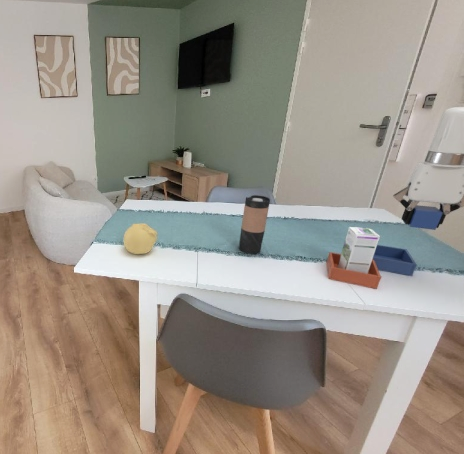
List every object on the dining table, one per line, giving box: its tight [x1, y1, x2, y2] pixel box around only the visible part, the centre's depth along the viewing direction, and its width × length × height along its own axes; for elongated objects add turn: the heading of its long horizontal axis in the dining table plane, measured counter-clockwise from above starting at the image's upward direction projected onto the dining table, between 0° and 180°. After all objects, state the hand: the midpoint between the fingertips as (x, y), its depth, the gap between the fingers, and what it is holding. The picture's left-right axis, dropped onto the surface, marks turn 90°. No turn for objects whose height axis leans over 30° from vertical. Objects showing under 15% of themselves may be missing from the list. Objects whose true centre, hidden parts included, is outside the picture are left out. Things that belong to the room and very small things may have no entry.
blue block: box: [407, 204, 443, 231], centre depth 80 cm, size 5×5×5 cm
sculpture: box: [123, 222, 158, 255], centre depth 109 cm, size 11×12×11 cm
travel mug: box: [238, 194, 271, 255], centre depth 104 cm, size 8×8×20 cm
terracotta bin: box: [326, 251, 382, 290], centre depth 89 cm, size 11×11×4 cm
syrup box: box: [337, 226, 381, 273], centre depth 87 cm, size 6×6×14 cm
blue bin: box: [372, 244, 417, 277], centre depth 94 cm, size 11×11×4 cm
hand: (419, 223), depth 81 cm, fingers closed on blue block, 5 cm apart
